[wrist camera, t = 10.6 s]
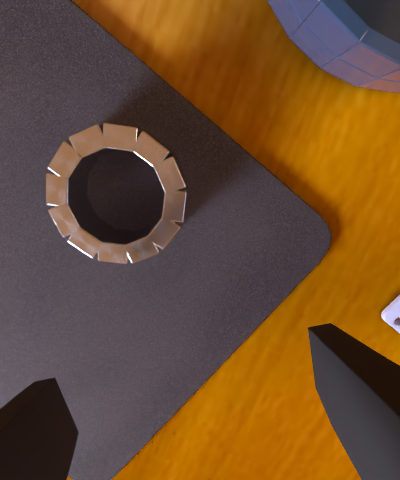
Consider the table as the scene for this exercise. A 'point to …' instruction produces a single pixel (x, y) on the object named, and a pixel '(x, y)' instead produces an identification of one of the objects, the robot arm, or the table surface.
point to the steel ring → (81, 211)
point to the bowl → (347, 38)
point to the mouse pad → (132, 218)
